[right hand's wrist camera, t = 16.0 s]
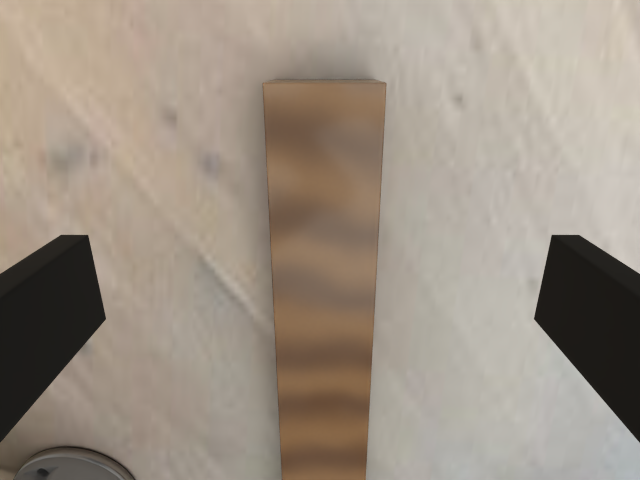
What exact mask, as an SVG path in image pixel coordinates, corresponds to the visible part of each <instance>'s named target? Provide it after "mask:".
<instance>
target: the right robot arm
mask: <svg viewBox="0 0 640 480" xmlns="http://www.w3.org/2000/svg"><path fill="white" fill-rule="evenodd" d="M105 320H106V317H105V312H104V307H103V303H102V298H101V293H100V289H99V284H98V279H97V274H96V270H95V265H94V260H93V256H92V251H91V246H90V242H89V237H88V235H60V236H59V237H57V238H56V239H54V240H52V241H51V242H49V243H48V244H46V245H45V246H43V247H42V248H40V249H38V250H37V251H35V252H34V253H32V254H31V255H29V256H28V257H26V258H24V259H23V260H21V261H20V262H18V263H17V264H15V265H14V266H12V267H10V268H9V269H7V270H6V271H4V272H3V273H1V274H0V442H1V441H2V440H3V439H4V438H5V436H6V435H7V434H8V433H9V432H10V431H11V429H12V428H13V427H14V426H15V425H16V424H17V422H18V421H19V420H20V419H21V418H22V417H23V415H24V414H25V413H26V412H27V411H28V409H29V408H30V407H31V406H32V405H33V404H34V402H35V401H36V400H37V399H38V398H39V397H40V395H41V394H42V393H43V392H44V391H45V390H46V388H47V387H48V386H49V385H50V384H51V383H52V381H53V380H54V379H55V378H56V377H57V376H58V374H59V373H60V372H61V371H62V370H63V369H64V367H65V366H66V365H67V364H68V363H69V362H70V360H71V359H72V358H73V357H74V356H75V355H76V353H77V352H78V351H79V350H80V349H81V348H82V346H83V345H84V344H85V343H86V342H87V341H88V339H89V338H90V337H91V336H92V335H93V334H94V332H95V331H96V330H97V329H98V328H99V327H100V325H101V324H102V323H103V322H104V321H105ZM534 320H535V321H536V322H537V323H538V324H539V325H540V327H541V328H542V329H543V330H544V331H545V332H546V334H547V335H548V336H549V337H550V338H551V339H552V341H553V342H554V343H555V344H556V345H557V346H558V348H559V349H560V350H561V351H562V352H563V353H564V355H565V356H566V357H567V358H568V359H569V360H570V362H571V363H572V364H573V365H574V366H575V367H576V369H577V370H578V371H579V372H580V373H581V374H582V376H583V377H584V378H585V379H586V380H587V381H588V383H589V384H590V385H591V386H592V387H593V388H594V390H595V391H596V392H597V393H598V394H599V395H600V397H601V398H602V399H603V400H604V401H605V402H606V404H607V405H608V406H609V407H610V408H611V409H612V411H613V412H614V413H615V414H616V415H617V417H618V418H619V419H620V420H621V421H622V422H623V424H624V425H625V426H626V427H627V428H628V429H629V431H630V432H631V433H632V434H633V435H634V436H635V438H636V439H637V440H638V441H639V442H640V274H639V273H637V272H636V271H634V270H633V269H631V268H630V267H628V266H626V265H625V264H623V263H622V262H620V261H619V260H617V259H616V258H614V257H612V256H611V255H609V254H608V253H606V252H605V251H603V250H602V249H600V248H598V247H597V246H595V245H594V244H592V243H591V242H589V241H588V240H586V239H584V238H583V237H581V236H580V235H552V237H551V242H550V246H549V251H548V256H547V260H546V265H545V270H544V274H543V279H542V284H541V289H540V293H539V298H538V303H537V307H536V312H535V317H534ZM13 480H134V479H133V477H132V476H131V475H130V474H129V473H128V472H127V471H126V470H125V469H124V468H123V467H122V466H121V465H119V464H118V463H116V462H115V461H113V460H112V459H110V458H108V457H106V456H104V455H101V454H99V453H96V452H93V451H89V450H85V449H79V448H54V449H49V450H45V451H42V452H40V453H38V454H35V455H34V456H32V457H31V458H30V459H28V460H27V461H26V462H25V463H24V465H23V466H22V467H21V469H20V470H19V471H18V473H17V474H16V475H15V477H14V479H13Z"/></svg>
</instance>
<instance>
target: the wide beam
mask: <svg viewBox="0 0 640 480" xmlns="http://www.w3.org/2000/svg"><path fill="white" fill-rule="evenodd" d="M263 99H264V119H265V139H266V160H267V180H268V201H269V221H270V242H271V262H272V282H273V303H274V323H275V344H276V364H277V385H278V405H279V425H280V446H281V466H282V480H366V461H367V442H368V423H369V404H370V385H371V366H372V347H373V328H374V309H375V290H376V271H377V252H378V233H379V214H380V195H381V176H382V157H383V138H384V119H385V100H386V83H385V82H381V81H378V80H272V81H268V82H265V83H263Z"/></svg>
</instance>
